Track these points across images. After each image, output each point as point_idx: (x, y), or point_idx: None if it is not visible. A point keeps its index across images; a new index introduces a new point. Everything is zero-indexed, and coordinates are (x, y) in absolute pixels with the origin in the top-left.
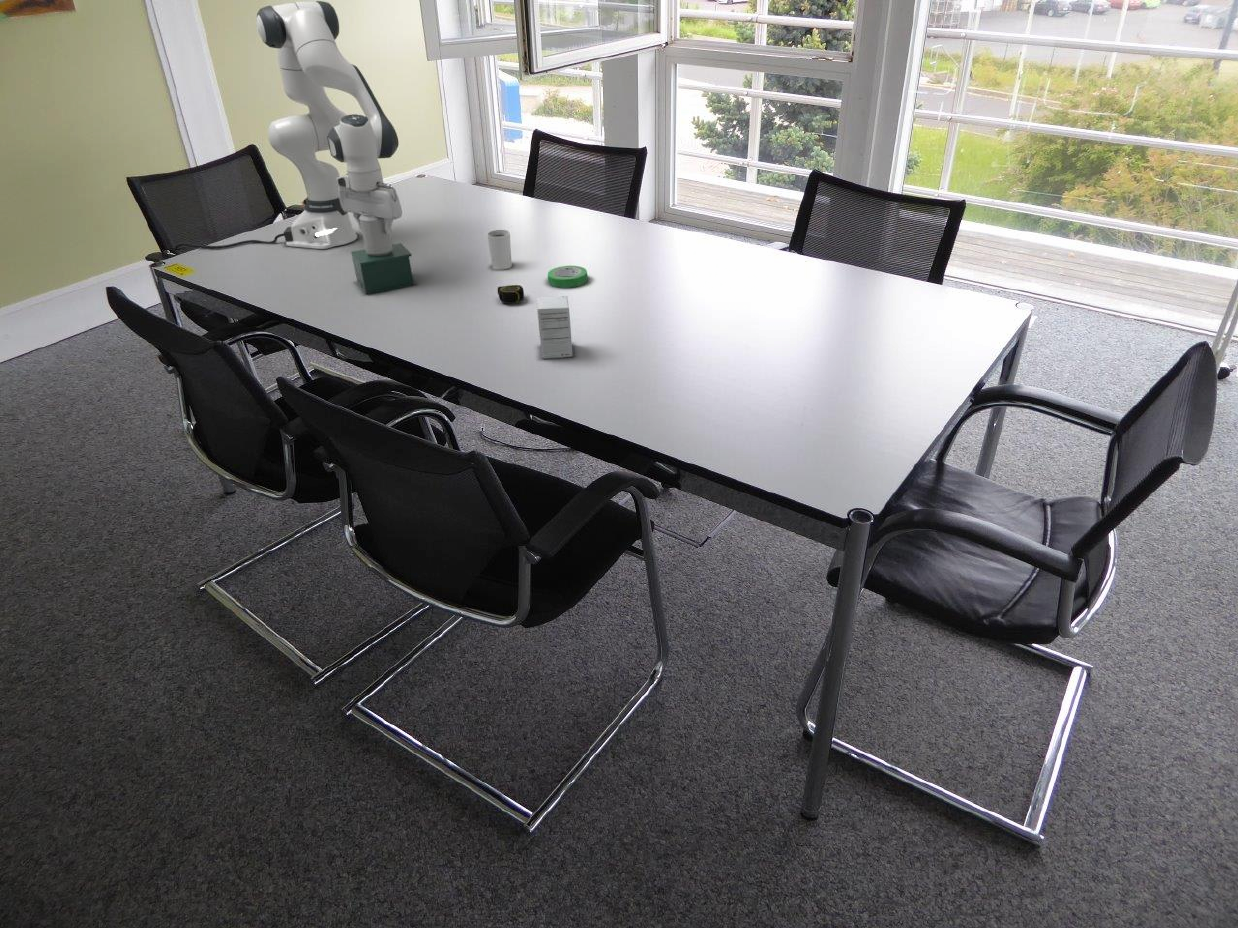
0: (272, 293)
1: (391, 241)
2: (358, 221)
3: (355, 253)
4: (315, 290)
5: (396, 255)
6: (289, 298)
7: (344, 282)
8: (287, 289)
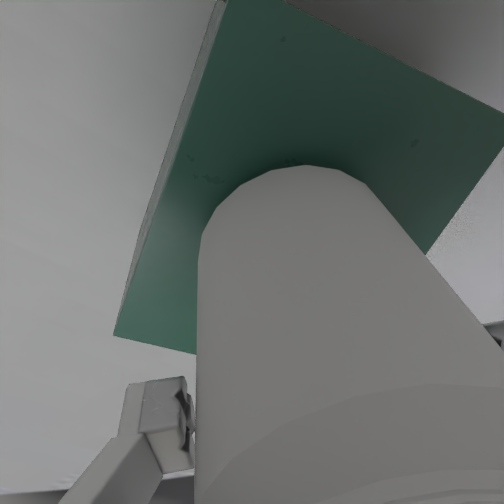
0: (10, 443)
1: (391, 215)
2: (148, 494)
3: (164, 335)
4: (92, 363)
5: (436, 209)
6: (100, 431)
7: (91, 265)
8: (4, 409)
